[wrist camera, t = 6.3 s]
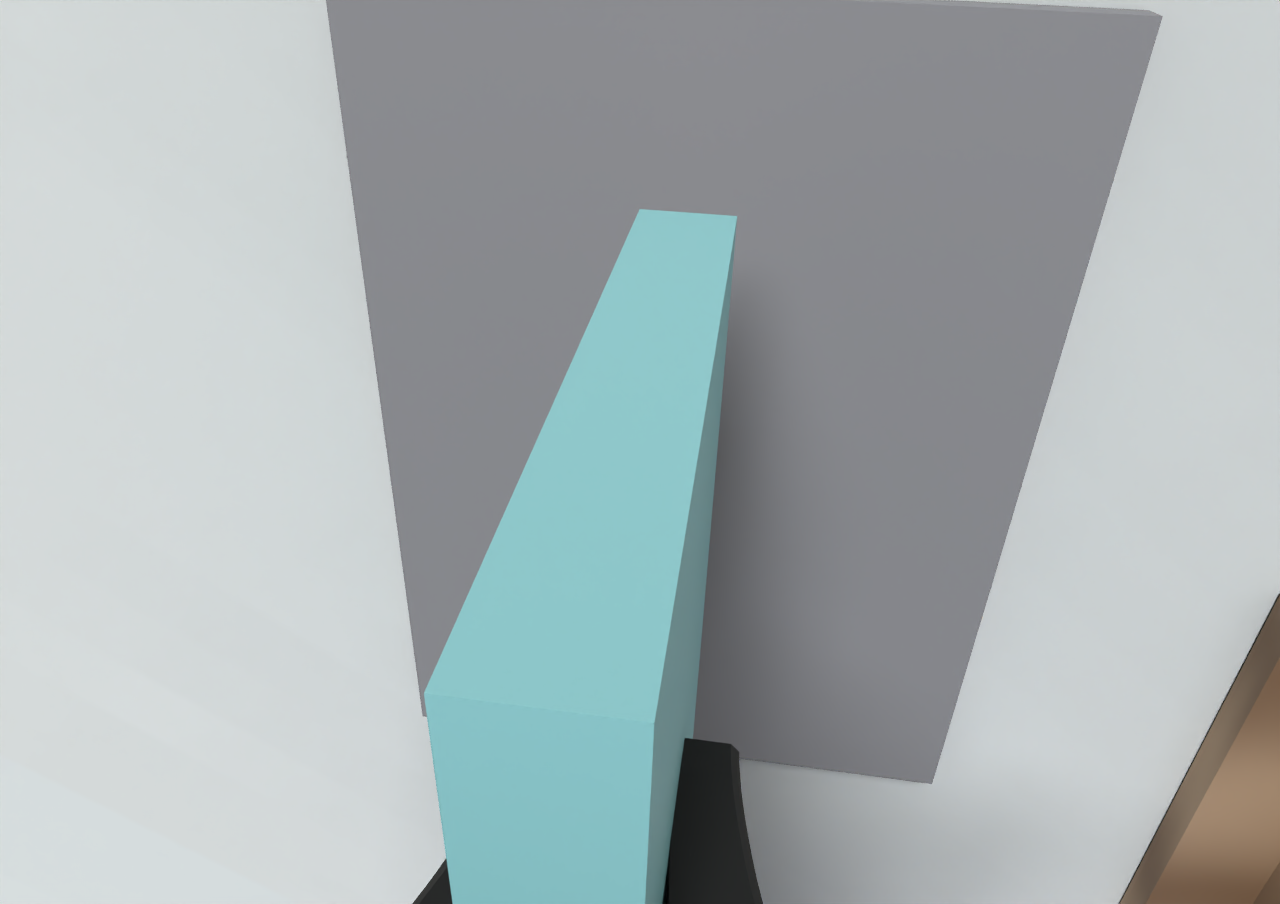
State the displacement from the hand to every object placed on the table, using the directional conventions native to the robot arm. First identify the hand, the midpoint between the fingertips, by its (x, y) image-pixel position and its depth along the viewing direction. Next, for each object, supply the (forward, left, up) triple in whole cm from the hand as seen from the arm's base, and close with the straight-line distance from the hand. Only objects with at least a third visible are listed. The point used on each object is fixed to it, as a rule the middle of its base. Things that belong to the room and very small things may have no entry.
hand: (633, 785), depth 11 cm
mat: (0, 0, -8) cm, 8 cm away
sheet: (0, 0, -4) cm, 4 cm away
